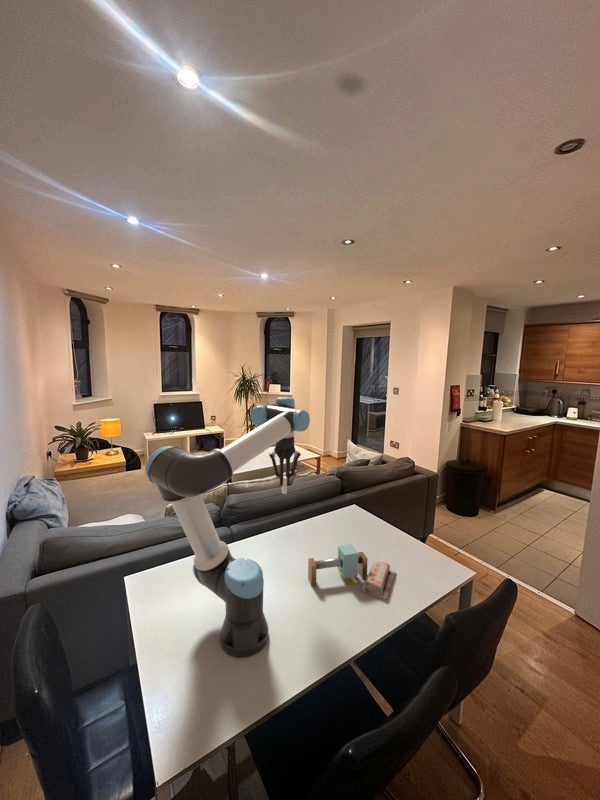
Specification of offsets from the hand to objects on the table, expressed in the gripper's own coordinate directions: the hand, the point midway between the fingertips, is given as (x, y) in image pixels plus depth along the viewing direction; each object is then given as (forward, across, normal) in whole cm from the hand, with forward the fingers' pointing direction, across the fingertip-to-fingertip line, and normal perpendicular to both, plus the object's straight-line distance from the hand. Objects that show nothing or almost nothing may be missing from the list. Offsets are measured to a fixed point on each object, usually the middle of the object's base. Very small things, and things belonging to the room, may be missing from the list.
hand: (284, 492), depth 134 cm
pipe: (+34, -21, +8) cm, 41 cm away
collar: (+32, -25, +9) cm, 42 cm away
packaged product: (+35, -36, +14) cm, 53 cm away
